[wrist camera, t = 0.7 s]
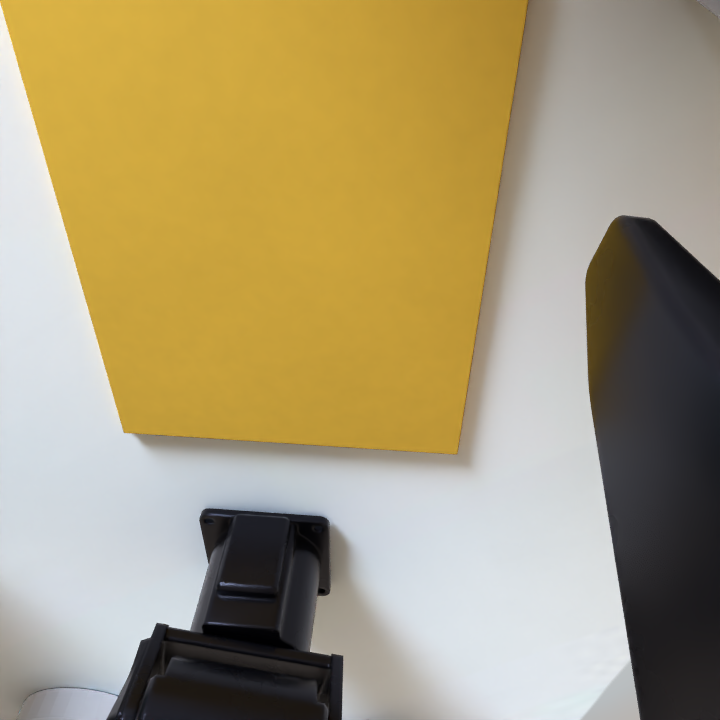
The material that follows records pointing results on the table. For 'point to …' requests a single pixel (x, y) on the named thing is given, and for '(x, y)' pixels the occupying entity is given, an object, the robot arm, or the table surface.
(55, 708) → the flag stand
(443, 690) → the table surface
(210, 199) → the cloth
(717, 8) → the supplement bottle
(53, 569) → the table surface
